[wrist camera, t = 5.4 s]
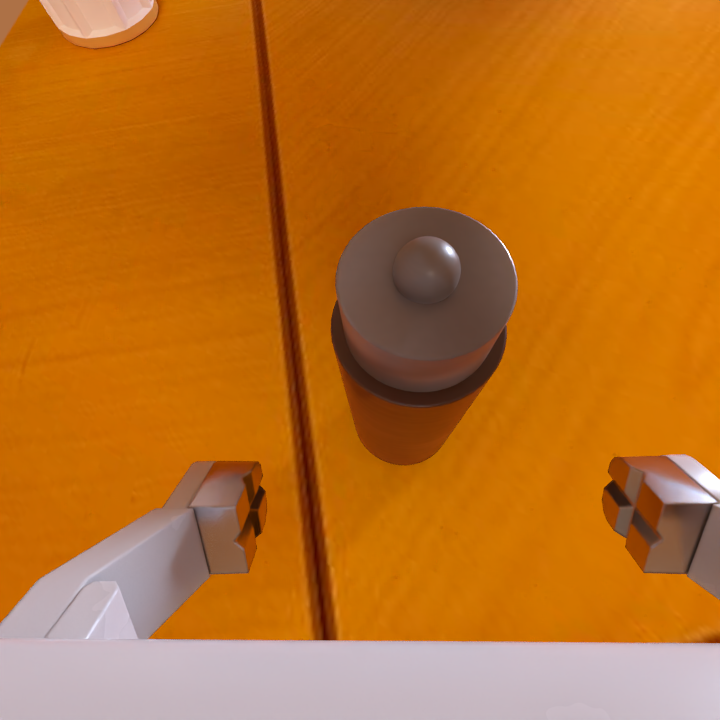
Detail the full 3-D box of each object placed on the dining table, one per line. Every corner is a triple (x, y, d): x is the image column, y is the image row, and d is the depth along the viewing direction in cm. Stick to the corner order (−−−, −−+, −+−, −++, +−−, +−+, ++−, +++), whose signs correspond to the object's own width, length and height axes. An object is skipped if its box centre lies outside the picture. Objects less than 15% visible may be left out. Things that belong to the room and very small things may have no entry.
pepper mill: (357, 468, 21) (313, 368, 8) (352, 375, 23) (311, 172, 10) (456, 462, 21) (581, 349, 8) (443, 368, 23) (524, 153, 10)
